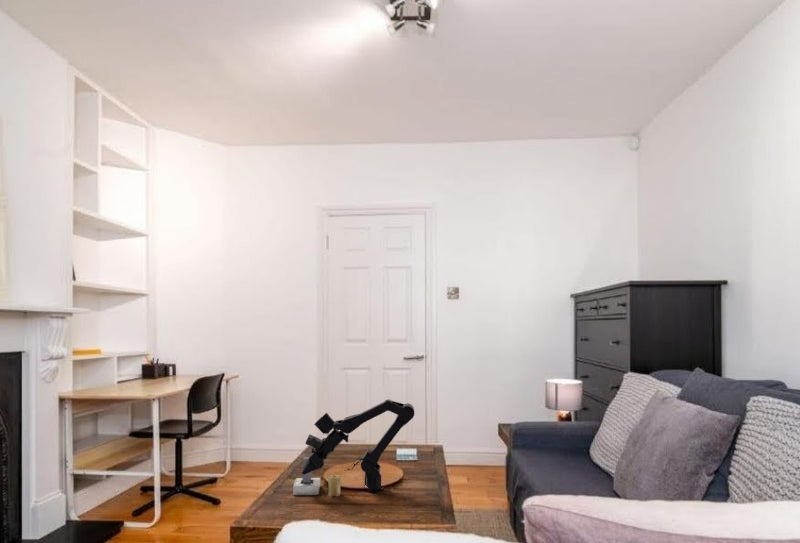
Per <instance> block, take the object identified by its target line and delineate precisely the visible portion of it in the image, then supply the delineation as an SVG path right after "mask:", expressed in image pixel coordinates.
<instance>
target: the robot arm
mask: <svg viewBox="0 0 800 543" xmlns="http://www.w3.org/2000/svg"><path fill="white" fill-rule="evenodd" d="M386 412H390V413H393V414H395V415H396V417H395V420H394V421H393V422H392V423H391V425H390V426H389V428H388V429H387V430H386V432H384V434H383V435H382V437H381V438H380V439H379V440H378V442H377V444H376V445H375V446H374V447H373V448H372V449H371V448H370V447H368V448H367V450H366V452H365V453H364V454H363V455H362V456H361V457H362V459H361V460H360V461H361V462H360V469H361V470H362V471H363V472H364V486H365V485H366V486H367V487H368V488H369V489H368V490H367V491H366V492H369V493H371V494H376V493H377V492H380V491H382V490H384V488H385V487H382V474H381V473H380V472H381V467H382V466H381V465H380V464H379V463H378V462H379V460H380V458H381V456H382V454H383V453H384V451H385V450H386V449H387V448H388V446H389V445H390V444H391V442H392V441H393V440H394V438H395V437H396V436H397V434H398V433H399V432H400V431H401V429H402V428H403V427H404V426H406V425H407V424H408V423H409V422H410V421H411V420H412V419H414V416H415V407H414V406H413V405H412V403H411V404H410V403H401V402H398V401H394V400H391V399H385V400H384V401H383V402H380V403H378V404H376V405H375V406H372V407H371V408H368V409H367V410H365V411H363V412H361V413H357V414H353V415H349V416H346V417H345V418H343V419H340V420H339V419H338V420H334V419H333V418H332V417H331V416H330V415H329V413H328V412H325V413H324V414H323V416H321V417H320V418H319V419H318V420H317V421H316V422H314V426H315V427H316V428H317V429H318V430H319V431H320V433H322V434H323V435H327V436H326V437H323V438H322V439H320V438H319V437H317V436H314V435H313V434H309V435H308V436H307V439H306V441H305V443H304V444H305V445H307V446H310V447H312V448H311V454H310V455H309V456H308V457H309V463H308V464H307V466H306V467H305V469H304V470H303V469H302V472H301V474H302V476H303V475H304V474H307V473H309V472H311V473H312V472H314V471H317V470H319V469H322V468H323V467H324V466H325V460H327V458H328V456H329V455H331V453H333V452H334V451H335V449H336V448H337V447H338V446H339V445H340V444H341V443H342V441H345V443H348V442H349V435H350V434H351V433H353V432H354V431H356V429H358V428H359V427H360V426H362V425H363V424H364V423H366V422H368V421H370V420H372V419H373V418H376V417H378V416H380V415H382V414H384V413H386ZM381 487H382V488H381Z"/></svg>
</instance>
